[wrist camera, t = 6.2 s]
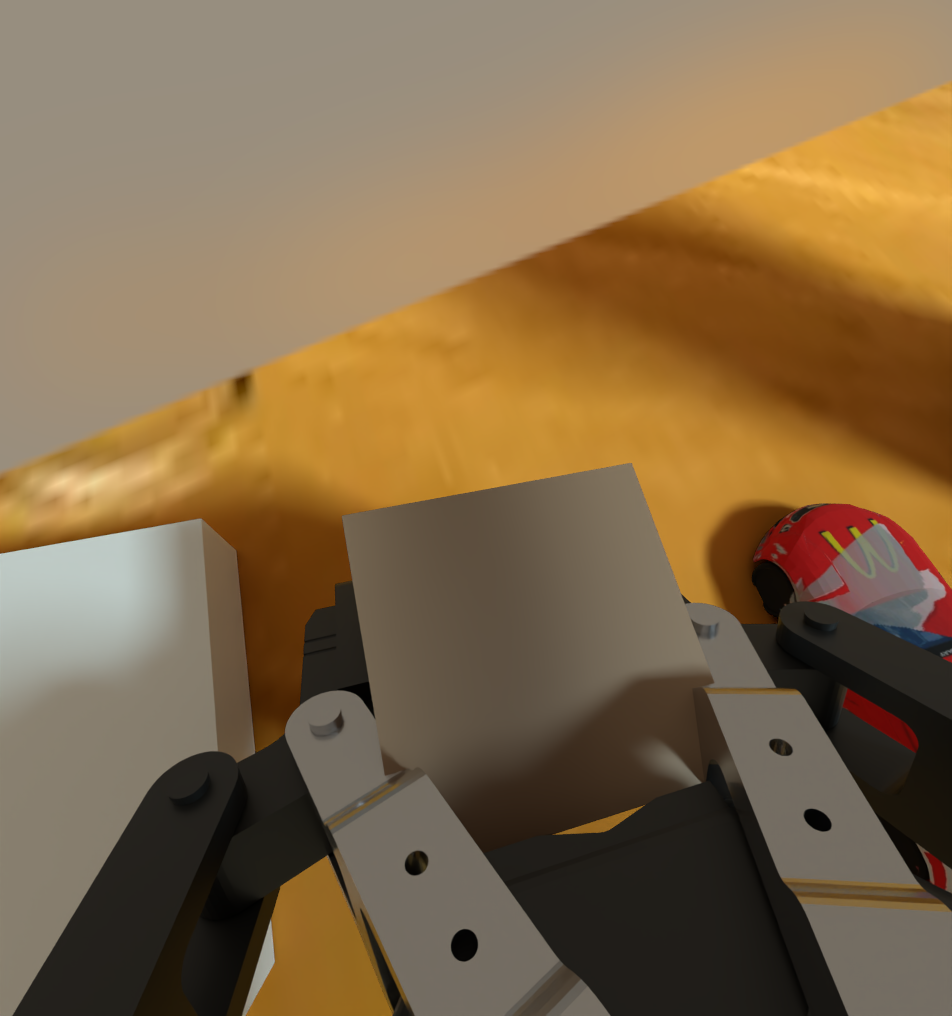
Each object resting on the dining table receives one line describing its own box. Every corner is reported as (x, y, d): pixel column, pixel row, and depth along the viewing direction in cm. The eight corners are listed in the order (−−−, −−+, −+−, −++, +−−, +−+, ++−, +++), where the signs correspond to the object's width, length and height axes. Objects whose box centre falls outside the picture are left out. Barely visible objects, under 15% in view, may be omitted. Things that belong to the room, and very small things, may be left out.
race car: (720, 532, 19) (792, 489, 16) (842, 504, 20) (937, 458, 17) (904, 959, 15) (1065, 1039, 11) (1048, 897, 16) (1239, 952, 12)
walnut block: (526, 581, 17) (631, 462, 9) (570, 739, 16) (748, 771, 7) (377, 614, 16) (341, 516, 8) (407, 786, 15) (402, 883, 7)
